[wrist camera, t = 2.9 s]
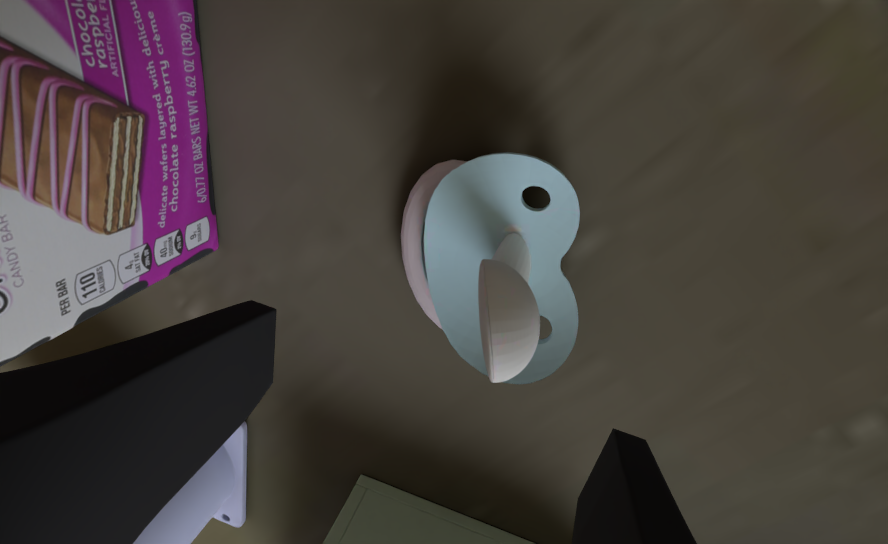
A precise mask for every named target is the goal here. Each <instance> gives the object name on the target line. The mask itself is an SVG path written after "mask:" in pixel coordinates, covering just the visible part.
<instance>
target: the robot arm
mask: <svg viewBox="0 0 888 544" xmlns="http://www.w3.org/2000/svg"><path fill="white" fill-rule="evenodd" d="M275 328H276V309H275V308H272V307H269V306H266V305H263V304H261V303H258V302H255V301H252V300H250V301H247V302H243V303H240V304H236V305H233V306H230V307H227V308H224V309H221V310H218V311H215V312H212V313H209V314H206V315H203V316H200V317H198V318H195V319H192V320H189V321H186V322H183V323H180V324H177V325H174V326H171V327H168V328H165V329H162V330H159V331H156V332H153V333H150V334H147V335H144V336H140V337H137V338H134V339H130V340H127V341H124V342H120V343H117V344H114V345H110V346H107V347H104V348H100V349H97V350H94V351H90V352H87V353H83V354H80V355H76V356H72V357H68V358H64V359H60V360H56V361H52V362H48V363H44V364H39V365H35V366H31V367H26V368H22V369H18V370H13V371H8V372H4V373H0V544H191V542H192V541H193V540H194V539H195V538H196V536H197V535H198V534H199V533H200V531H201V530H202V529H203V528H204V527H205V525H206V524H207V523H208V522H209V520H210V519H211V518H212V517H213V518H215V519H218V520H220V521H222V522H225V523H227V524H229V525H232V526H234V527H241V526H242V525H243V523H244V522H245V520H246V477H247V424H246V422H245V420H246V419H247V417H248V416H249V415H250V413H251V412H252V411H253V409H254V408H255V407H256V405H257V404H258V403H259V401H260V400H261V399H262V397H263V396H264V394H265V393H266V391H267V390H268V389H269V387H270V386H271V384H272V383H273V369H274V349H275ZM572 544H697V543H696V541H695V539H694V537H693V536H692V534H691V532H690V530H689V528H688V526H687V524H686V522H685V520H684V518H683V516H682V514H681V512H680V510H679V508H678V506H677V504H676V502H675V500H674V498H673V496H672V494H671V492H670V490H669V488H668V485H667V483H666V481H665V479H664V477H663V475H662V473H661V471H660V469H659V467H658V464H657V462H656V460H655V458H654V456H653V454H652V452H651V450H650V448H649V446H648V444H647V442H646V440H644V439H641V438H639V437H636V436H633V435H630V434H627V433H625V432H622V431H619V430H616V429H613V430H612V432H611V434H610V436H609V438H608V440H607V442H606V444H605V446H604V448H603V450H602V452H601V454H600V456H599V458H598V460H597V462H596V464H595V466H594V468H593V470H592V472H591V474H590V476H589V478H588V480H587V482H586V484H585V486H584V488H583V490H582V492H581V494H580V496H579V498H578V502H577V509H576V516H575V523H574V531H573V539H572Z"/></svg>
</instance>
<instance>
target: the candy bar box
mask: <svg viewBox="0 0 888 544" xmlns="http://www.w3.org/2000/svg"><path fill="white" fill-rule="evenodd" d="M218 247H219V243H218V234H217V222H216V212H215V204H214V191H213V182H212V170H211V158H210V148H209V140H208V128H207V113H206V103H205V92H204V80H203V71H202V60H201V47H200V36H199V25H198V13H197V3H196V0H0V366H2V365H4V364H6V363H8V362H9V361H11V360H13V359H15V358H17V357H19V356H21V355H23V354H24V353H26V352H28V351H30V350H32V349H34V348H36V347H38V346H40V345H41V344H43V343H45V342H47V341H49V340H51V339H53V338H55V337H57V336H59V335H61V334H62V333H64V332H66V331H68V330H70V329H71V328H73V327H74V326H76V325H78V324H79V323H81V322H83V321H85V320H87V319H89V318H91V317H93V316H95V315H96V314H98V313H100V312H102V311H104V310H106V309H107V308H109V307H111V306H113V305H115V304H117V303H119V302H121V301H123V300H125V299H126V298H128V297H130V296H132V295H133V294H135V293H137V292H139V291H141V290H143V289H145V288H147V287H149V286H150V285H152V284H154V283H156V282H158V281H160V280H162V279H164V278H165V277H167V276H169V275H171V274H173V273H175V272H177V271H179V270H180V269H182V268H184V267H186V266H187V265H189V264H191V263H193V262H195V261H197V260H199V259H201V258H202V257H204V256H206V255H208V254H210V253H211V252H213V251H215V250H217V249H218Z"/></svg>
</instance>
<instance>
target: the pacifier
mask: <svg viewBox="0 0 888 544" xmlns="http://www.w3.org/2000/svg"><path fill="white" fill-rule="evenodd" d="M530 186H539V187H541V188H544V189H545V190H546V191H547V192H548V193H549V195H550V199H551V200H550V203H549V204H548V205H547V206H546V207H543V208H539V209H537V208H532V207H530V206H528V205H527V204H526V203H525V202H524V200H523V198H522V192H523V190H524V189H525V188H527V187H530ZM579 217H580V210H579V203H578V198H577V195H576V193H575V190H574V188H573V186H572V185H571V183H570V181H569V180H568V179H567V177H566V176H565V175H564V173H562V172H561V171H560V170H559V169H558V168H556V167H555V166H554V165H552V164H551V163H549V162H547V161H545V160H542V159H540V158H538V157H535V156H531V155H527V154H523V153H512V152H502V153H492V154H488V155H484V156H479V157H477V158H475V159H472V160H470V161H468V162H466V161H459V160H450V161H446V162H442V163H438V164H436V165H434V166H433V167H432V168H430V169H429V170H428V171H426V172H425V173H424V174H422V175H421V177H420V178H419V180H418V181H417V183H416V184H415V186H414V187H413V188H412V190H411V192H410V195H409V198H408V200H407V203H406V206H405V209H404V214H403V221H402V229H401V245H402V258H403V263H404V267H405V271H406V276H407V279H408V282H409V284H410V286H411V289H412V291H413V293H414V296H415V298H416V300H417V301H418V303H419V304H420V306H421V307H422V309H423V310H424V312H425V313H426V315H427V316H428V317H429V318H430V319H431V320H432V321H433V322H434V323H435V324H436V325H437V326H438V327H439V328H441V329H443V331H444V332H445V334H446V336H447V338H448V340H449V342H450V344H451V345H452V346H453V347H454V349H455V350H456V351H457V353H458V354H459V355H460V356H461V357H462V358H463V359H464V360H465V361H466V362H468V363H469V364H470V365H471V366H473V367H475V368H476V369H477V370H478V371H480V372H481V373H483V374H485V375H487V376H489V379H490V381H491V382H492V383H493V382H494V383H499V382H504V383H512V384H528V383H532V382H535V381H539V380H542V379H544V378H546V377H547V376H549V375H551V374H553V373H554V372H555V371H556V370H557V369H558V368H559V367H560V366H561V365H562V364H563V363H564V361H565V360H566V358H567V357H568V355H569V354H570V352H571V350H572V348H573V346H574V344H575V340H576V336H577V330H578V308H577V304H576V300H575V296H574V293H573V290H572V288H571V286H570V283H569V281H568V279H567V278H566V276H565V275H564V273H563V272H562V270H561V267H560V262H561V259H562V257H563V256H564V255H565V253H566V252H567V251H568V250H569V248H570V246H571V244H572V242H573V240H574V239H575V236H576V233H577V230H578V227H579ZM539 315H541V316H544V317H545V318H547V319H548V320H549V321H550V323H551V326H552V333H551V335H550V336H548V337H547V338H545V339H539V333H540V316H539Z"/></svg>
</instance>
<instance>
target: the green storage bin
mask: <svg viewBox="0 0 888 544" xmlns="http://www.w3.org/2000/svg"><path fill="white" fill-rule="evenodd" d="M323 544H535V543H533V542H530V541H528V540H525V539H523V538H520V537H518V536H515V535H513V534H510V533H508V532H505V531H503V530H500V529H498V528H495V527H493V526H490V525H488V524H485V523H483V522H480V521H478V520H475V519H473V518H470V517H467V516H465V515H462V514H460V513H457V512H455V511H452V510H450V509H447V508H445V507H442V506H440V505H437V504H435V503H432V502H430V501H427V500H425V499H422V498H420V497H417V496H415V495H412V494H410V493H407V492H405V491H402V490H399V489H397V488H394V487H392V486H389V485H387V484H384V483H382V482H379V481H377V480H374V479H372V478H369V477H367V476H364V475H360V477H359V479H358V480H357V482H356V485H355V486H354V488H353V490H352V491H351V493H350V495H349V497H348V499H347V500H346V502H345V504H344V506H343V508H342V509H341V511H340V513H339V515H338V517H337V519H336V520H335V522H334V524H333V526H332V528H331V529H330V531H329V533H328V535H327V537H326V538H325V540H324V542H323Z"/></svg>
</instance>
